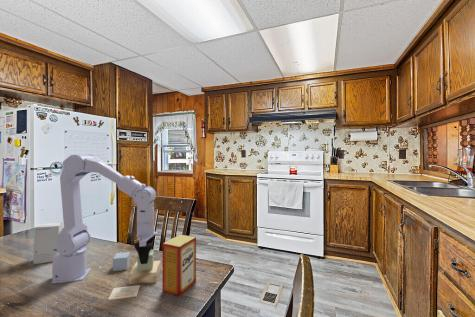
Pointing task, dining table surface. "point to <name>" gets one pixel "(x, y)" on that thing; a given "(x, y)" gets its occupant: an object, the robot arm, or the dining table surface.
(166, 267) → the baking soda box
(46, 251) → the skincare box
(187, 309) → the dining table surface
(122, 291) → the card
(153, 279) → the birch base block
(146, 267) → the sage green block
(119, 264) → the dusty blue block
